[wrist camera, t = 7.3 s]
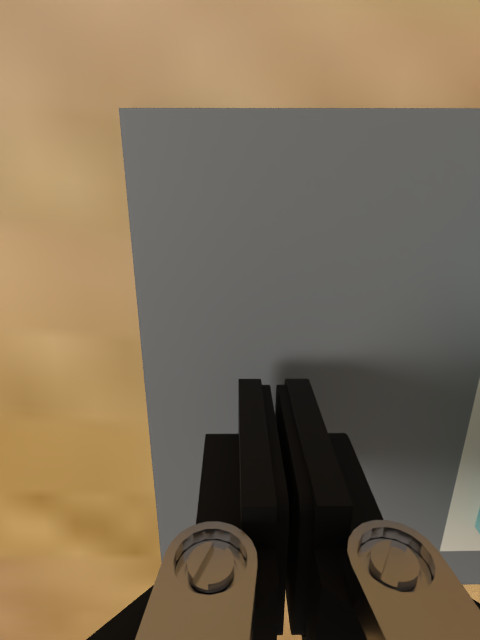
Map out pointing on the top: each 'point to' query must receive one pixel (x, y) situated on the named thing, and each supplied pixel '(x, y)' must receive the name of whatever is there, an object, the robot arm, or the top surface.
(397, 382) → the board
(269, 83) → the top surface
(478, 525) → the t block
